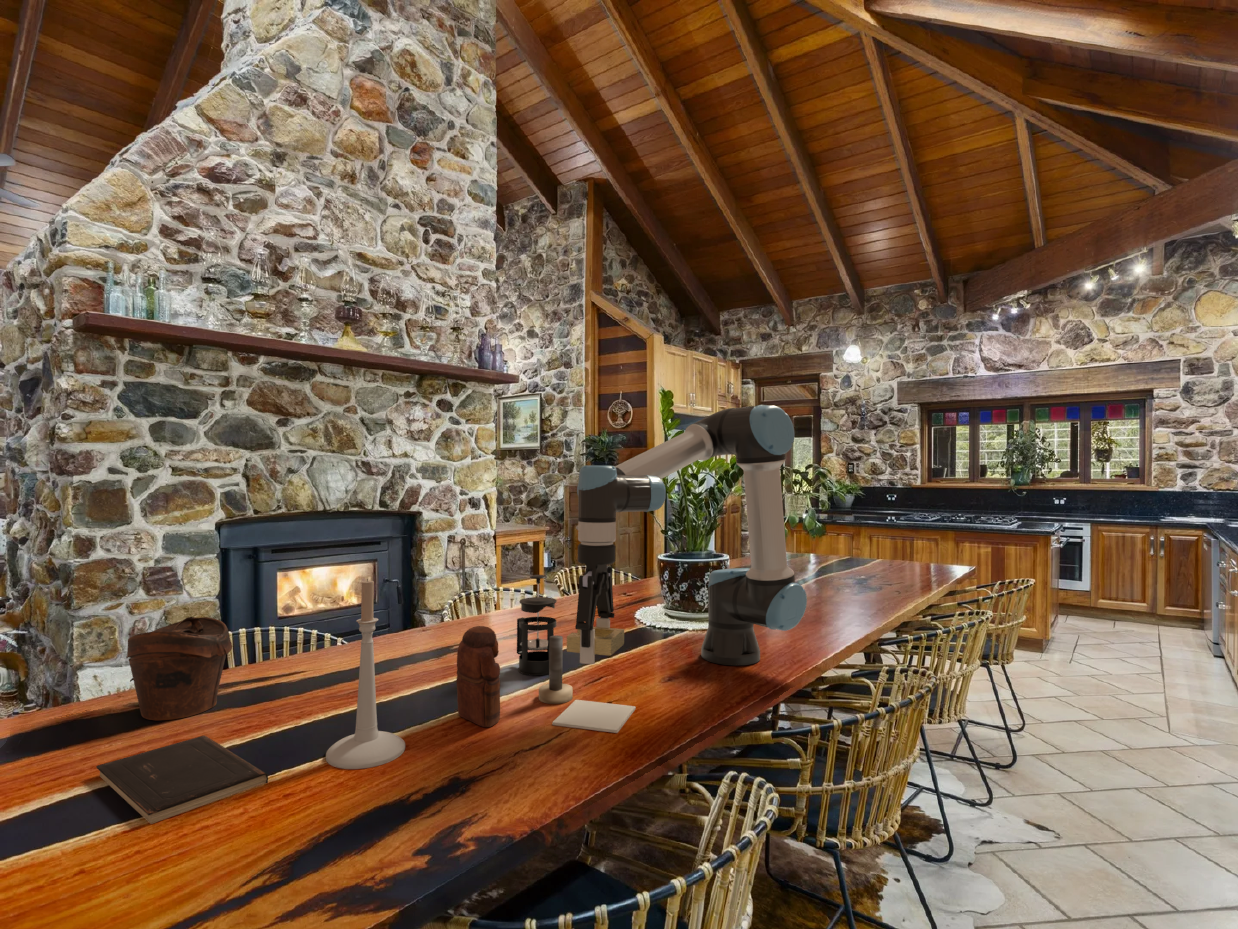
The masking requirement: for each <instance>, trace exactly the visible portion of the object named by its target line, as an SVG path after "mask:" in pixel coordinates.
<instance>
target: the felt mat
mask: <svg viewBox="0 0 1238 929" xmlns="http://www.w3.org/2000/svg"><path fill="white" fill-rule="evenodd" d="M635 710H636V706H634V705H628V704H627V705H626V704H616V703H608V702H601V701H593V700H592V701H591V700H583V699H582V700H581V699H575V700H574V701H573V702H572V703H571V704H569V706H567V708H566V709H564V710H563V711H562V713H560V714H559V715H558V716H557V717H556V718H555V719H554V720H553V721H552V726H557V727H565V728H566V727H567V728H572V729H573V728H574V729H584V730H590V731H591V730H592V731H598V732H606V733H607V732H608V733H613V734H614V733H615V734H618V733H619V732H620V730H622V728H623V726H624V725H625V724H626V723H627V721H628V720H629V718H630V717H631V716H632V714H633V713H634V712H635Z"/></svg>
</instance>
